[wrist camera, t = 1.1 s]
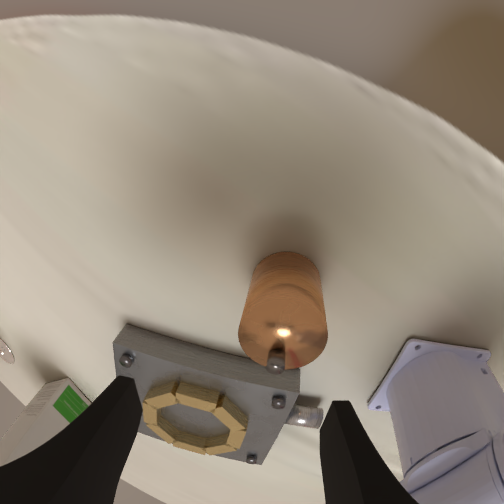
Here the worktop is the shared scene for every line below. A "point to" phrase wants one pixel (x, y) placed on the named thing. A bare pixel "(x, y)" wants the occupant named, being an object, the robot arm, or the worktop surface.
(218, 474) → the worktop surface
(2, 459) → the skincare box
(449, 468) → the robot arm
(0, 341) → the wineglass
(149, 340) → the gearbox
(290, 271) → the copper spout can
